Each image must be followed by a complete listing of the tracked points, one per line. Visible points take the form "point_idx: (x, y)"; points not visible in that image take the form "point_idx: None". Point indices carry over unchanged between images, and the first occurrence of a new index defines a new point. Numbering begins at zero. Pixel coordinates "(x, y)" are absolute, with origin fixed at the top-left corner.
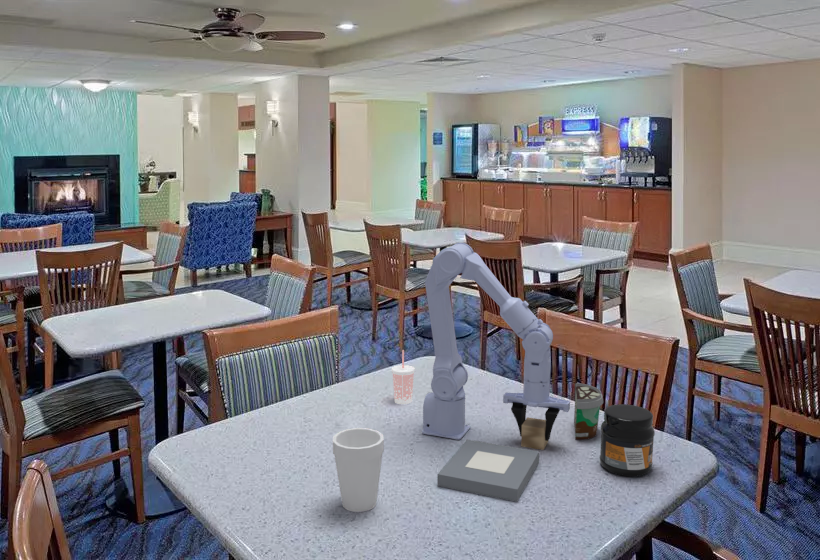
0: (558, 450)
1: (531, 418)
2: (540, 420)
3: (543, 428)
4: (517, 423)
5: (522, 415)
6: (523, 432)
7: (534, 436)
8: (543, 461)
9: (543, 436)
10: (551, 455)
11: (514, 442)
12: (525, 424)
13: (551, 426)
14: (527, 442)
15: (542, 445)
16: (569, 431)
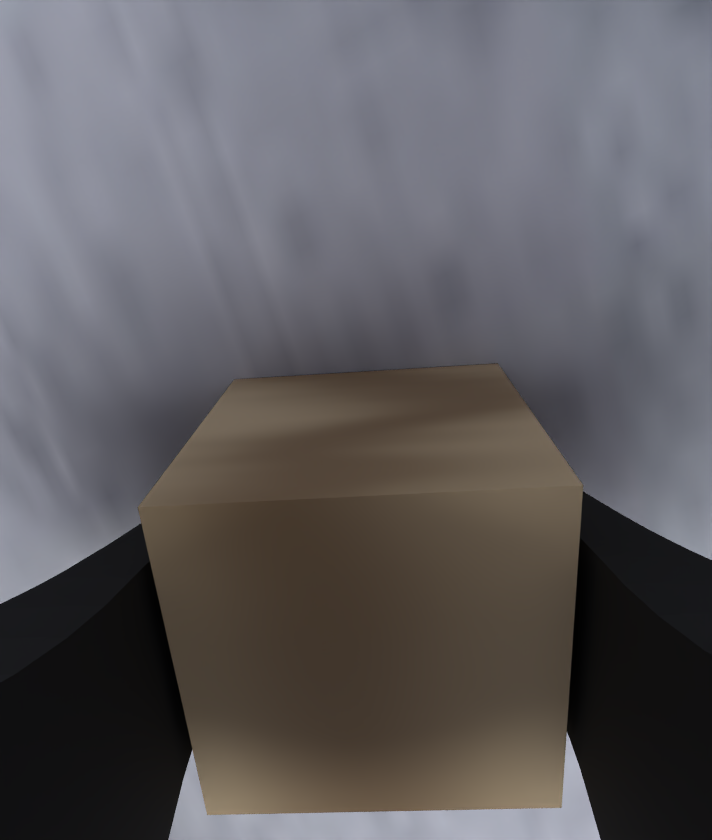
0: (92, 441)
1: (483, 792)
2: (326, 775)
3: (150, 507)
4: (679, 545)
5: (660, 697)
6: (511, 430)
7: (330, 425)
8: (108, 52)
9: (191, 443)
10: (100, 281)
11: (596, 432)
12: (520, 545)
13: (20, 596)
14: (426, 384)
15: (236, 397)
16: (178, 833)
